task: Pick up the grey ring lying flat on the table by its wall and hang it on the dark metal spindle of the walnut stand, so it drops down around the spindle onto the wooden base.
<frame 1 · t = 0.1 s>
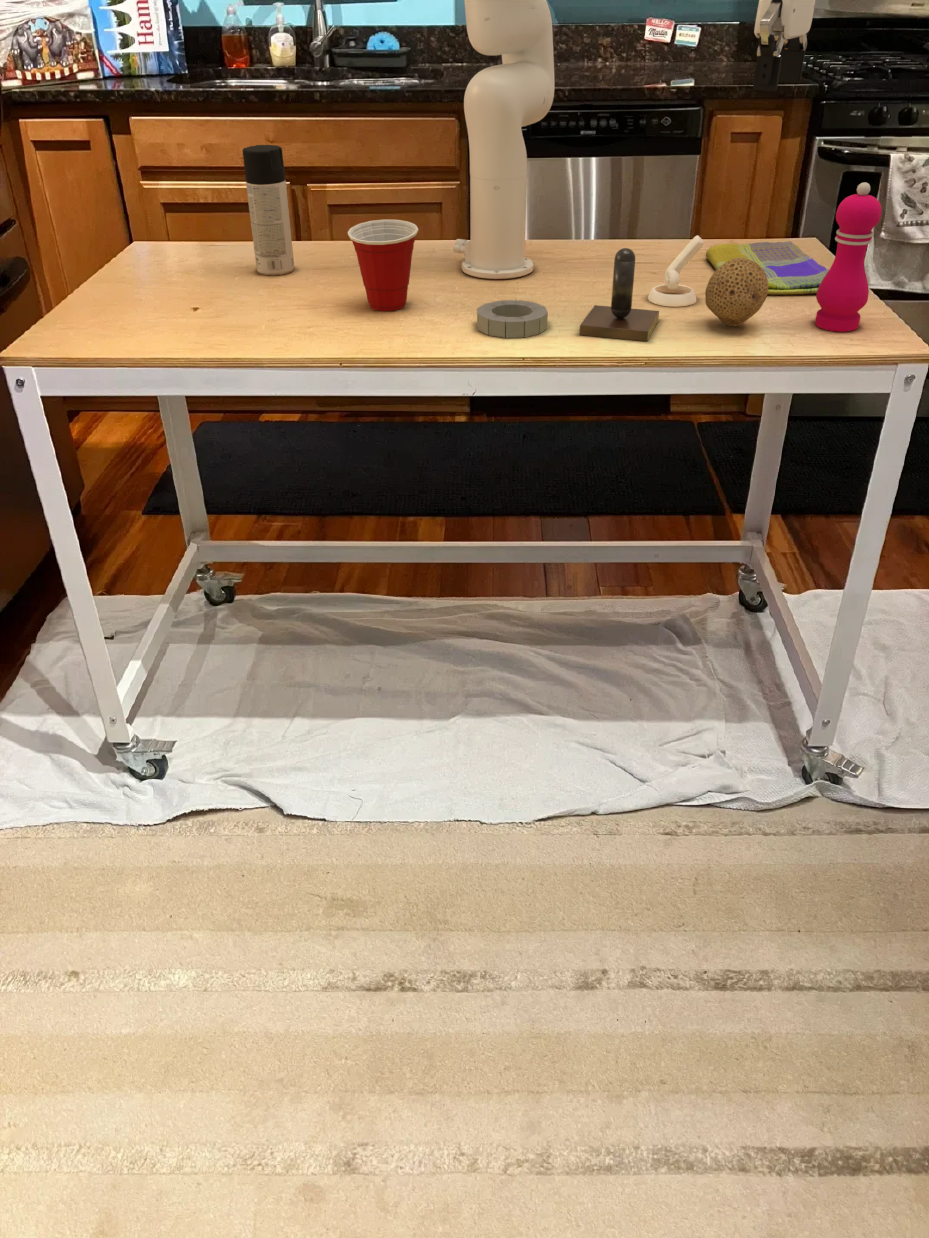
hand: (776, 86, 140), 31 cm above the table, tool pointing down, fingers open, 9 cm apart
spindle: (619, 327, 151), on the table
pepper mill: (836, 326, 151), on the table
spray can: (275, 272, 178), on the table
dish towel: (768, 276, 174), on the table
grey ring: (511, 326, 152), on the table
natural sponge: (731, 328, 151), on the table
white lever handle: (672, 301, 163), on the table
plastic cup: (386, 307, 161), on the table
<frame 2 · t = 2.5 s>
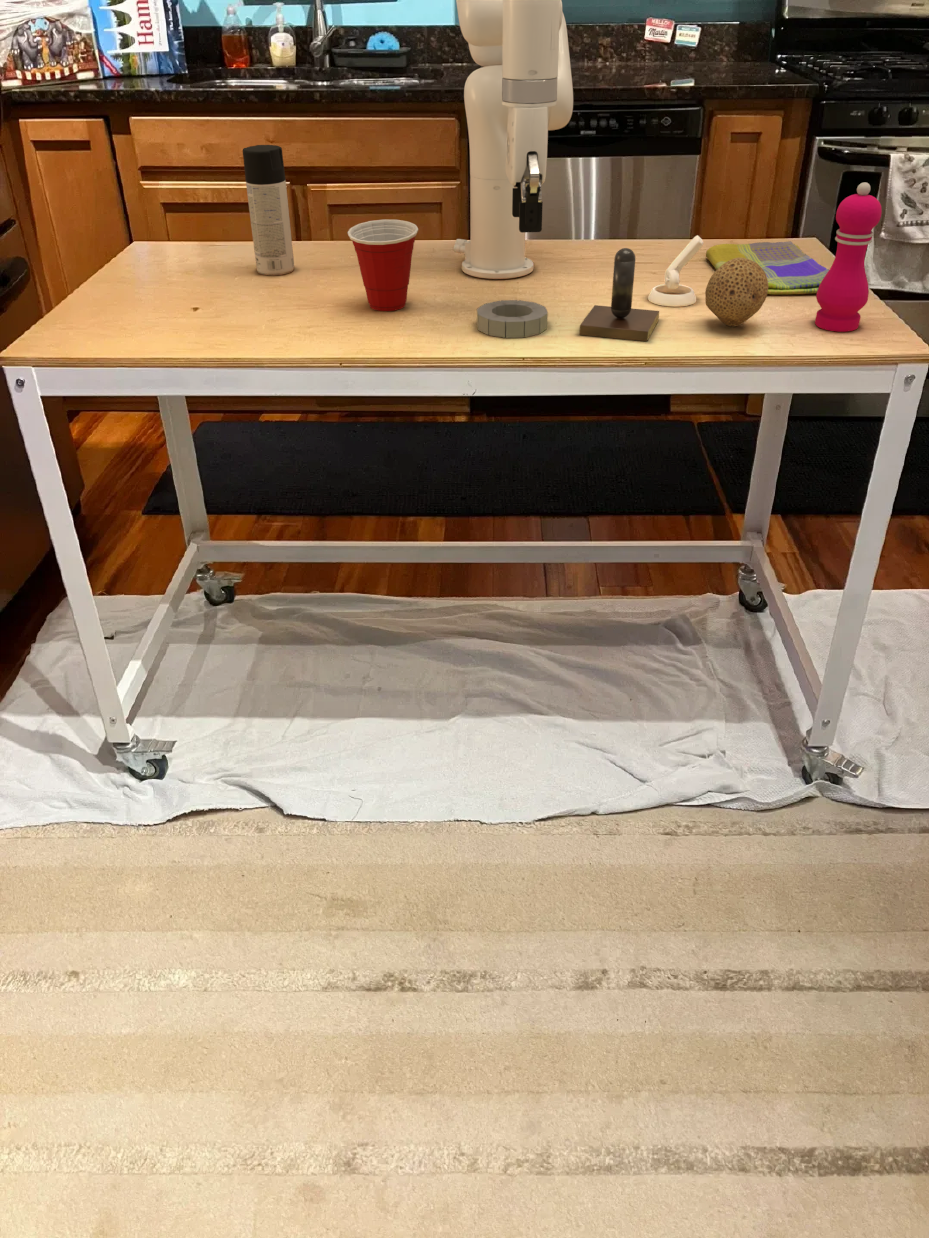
hand: (526, 224, 148), 14 cm above the table, tool pointing down, fingers open, 9 cm apart
nothing on the table moved.
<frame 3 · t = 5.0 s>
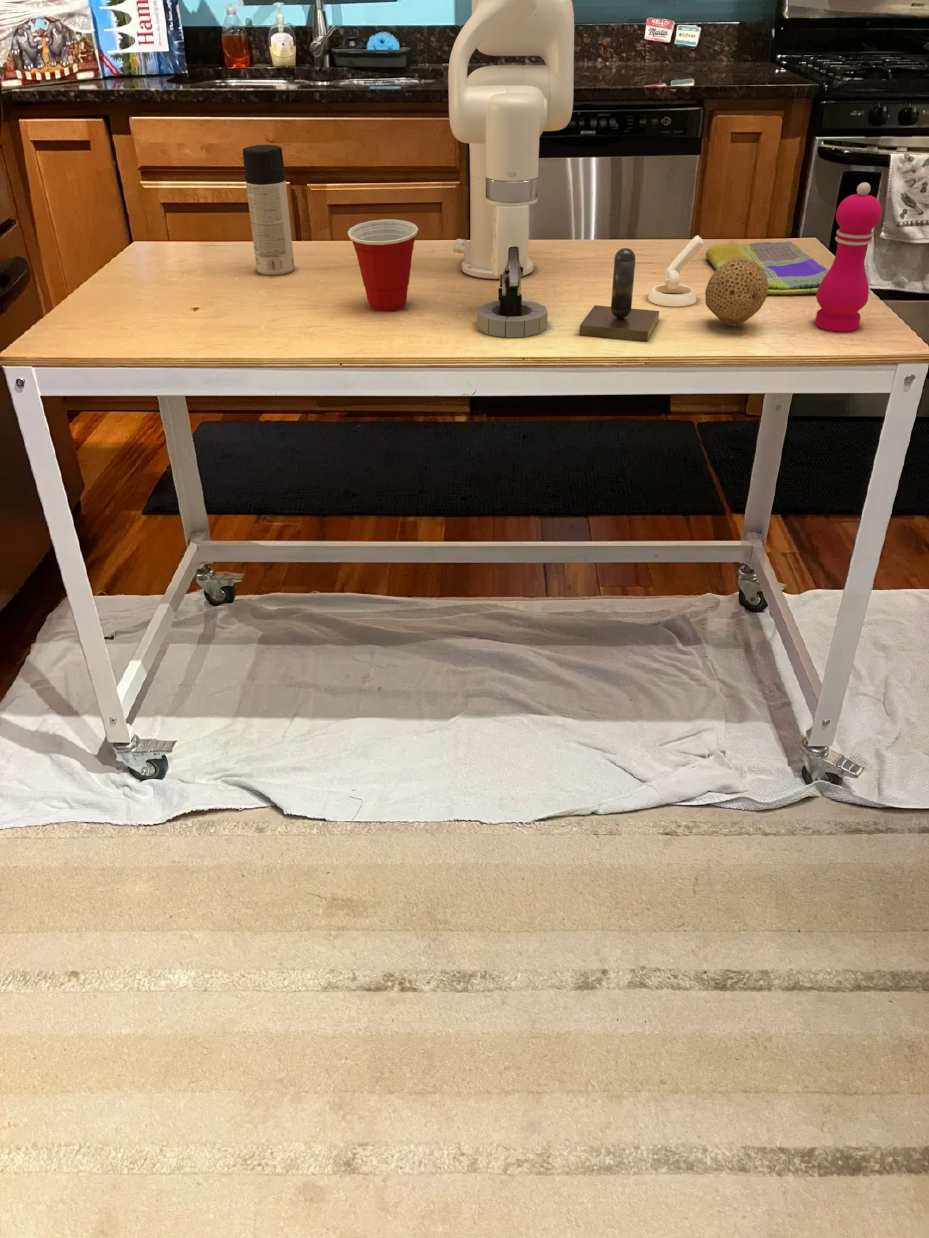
hand: (509, 316, 156), 0 cm above the table, tool pointing down, fingers closed on grey ring, 2 cm apart
grey ring: (511, 326, 152), on the table, touching gripper
everything else where it was.
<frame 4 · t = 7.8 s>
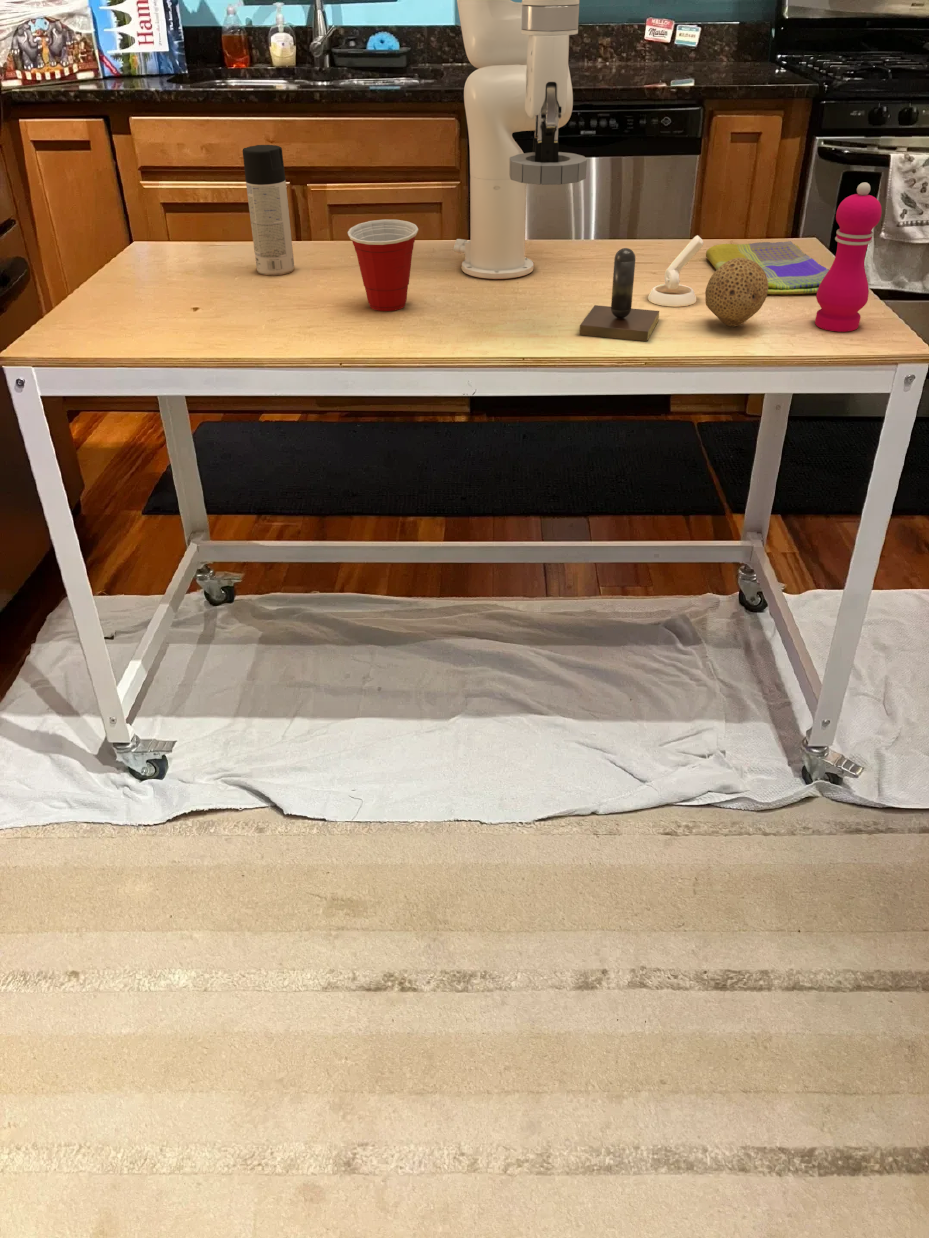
hand: (545, 170, 143), 21 cm above the table, tool pointing down, fingers closed on grey ring, 2 cm apart
grey ring: (547, 177, 140), point 21 cm above the table, touching gripper
everything else where it was.
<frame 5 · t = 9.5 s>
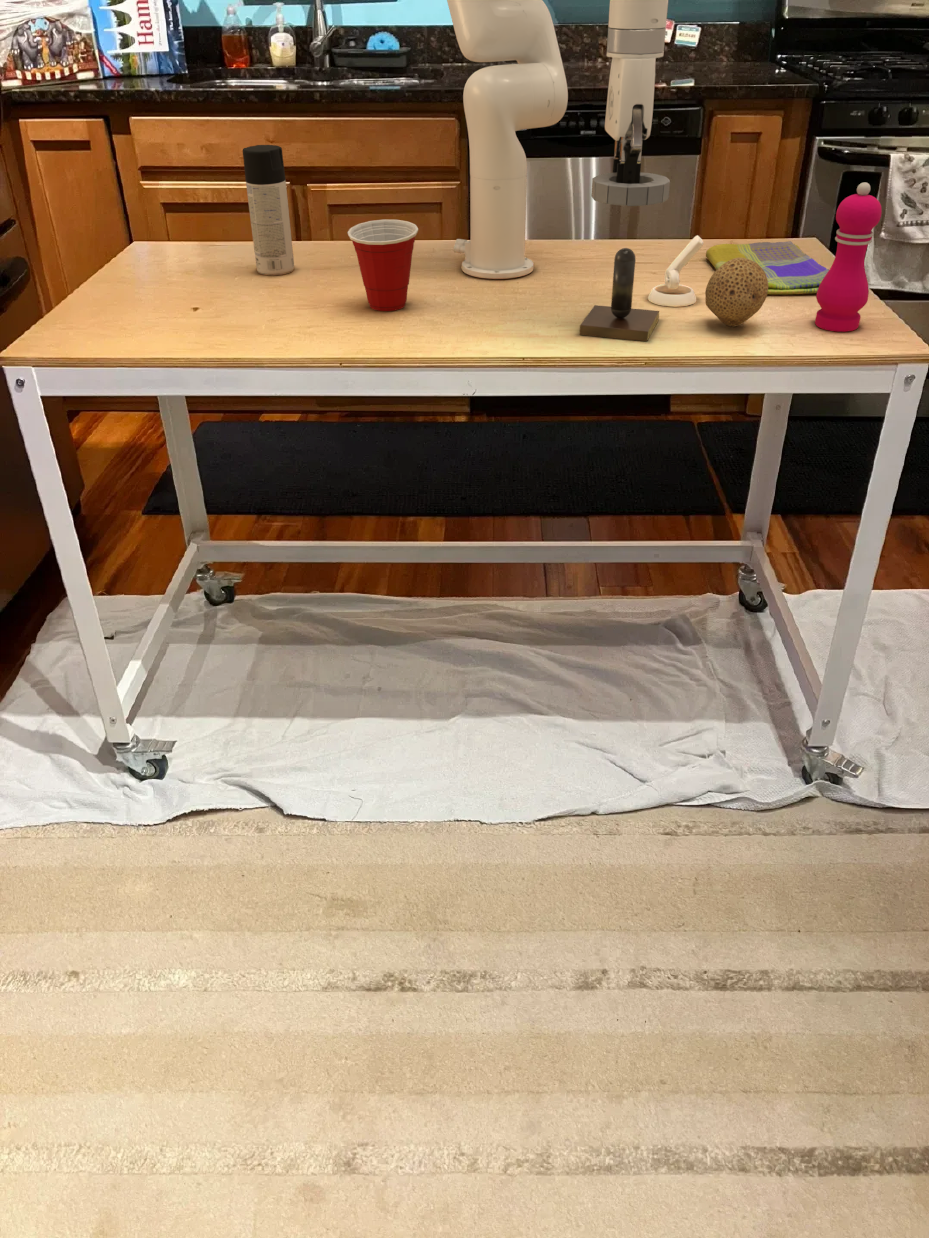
hand: (624, 190, 144), 18 cm above the table, tool pointing down, fingers closed on grey ring, 2 cm apart
grey ring: (629, 197, 141), point 18 cm above the table, touching gripper
everything else where it was.
when the fingers open (15 cm above the table, at t = 10.9 s): grey ring drops 13 cm, resting on spindle.
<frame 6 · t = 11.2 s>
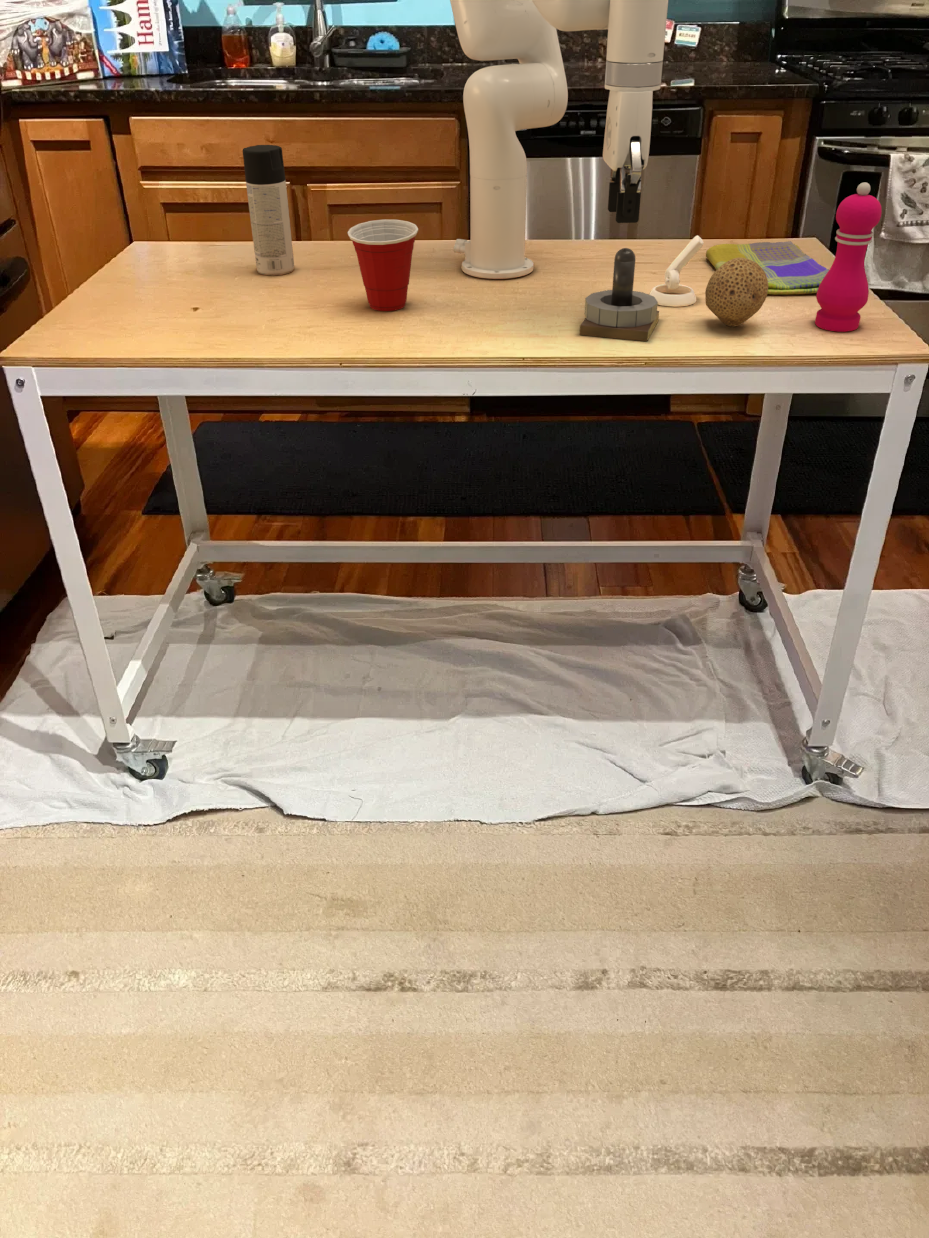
hand: (622, 215, 146), 15 cm above the table, tool pointing down, fingers open, 6 cm apart
grey ring: (620, 316, 151), point 1 cm above the table, touching spindle
everything else where it was.
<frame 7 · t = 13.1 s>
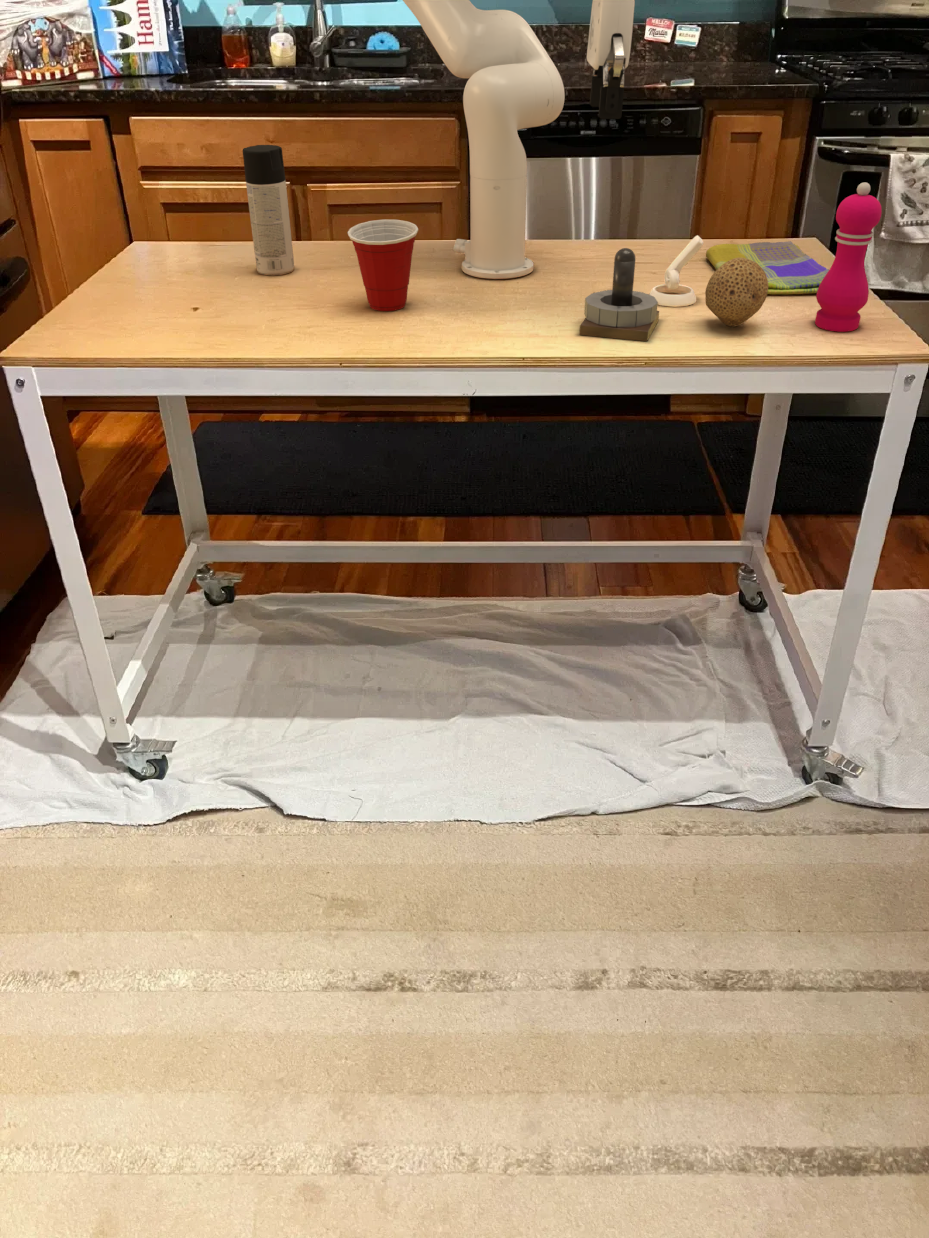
hand: (605, 112, 148), 27 cm above the table, tool pointing down, fingers open, 9 cm apart
nothing on the table moved.
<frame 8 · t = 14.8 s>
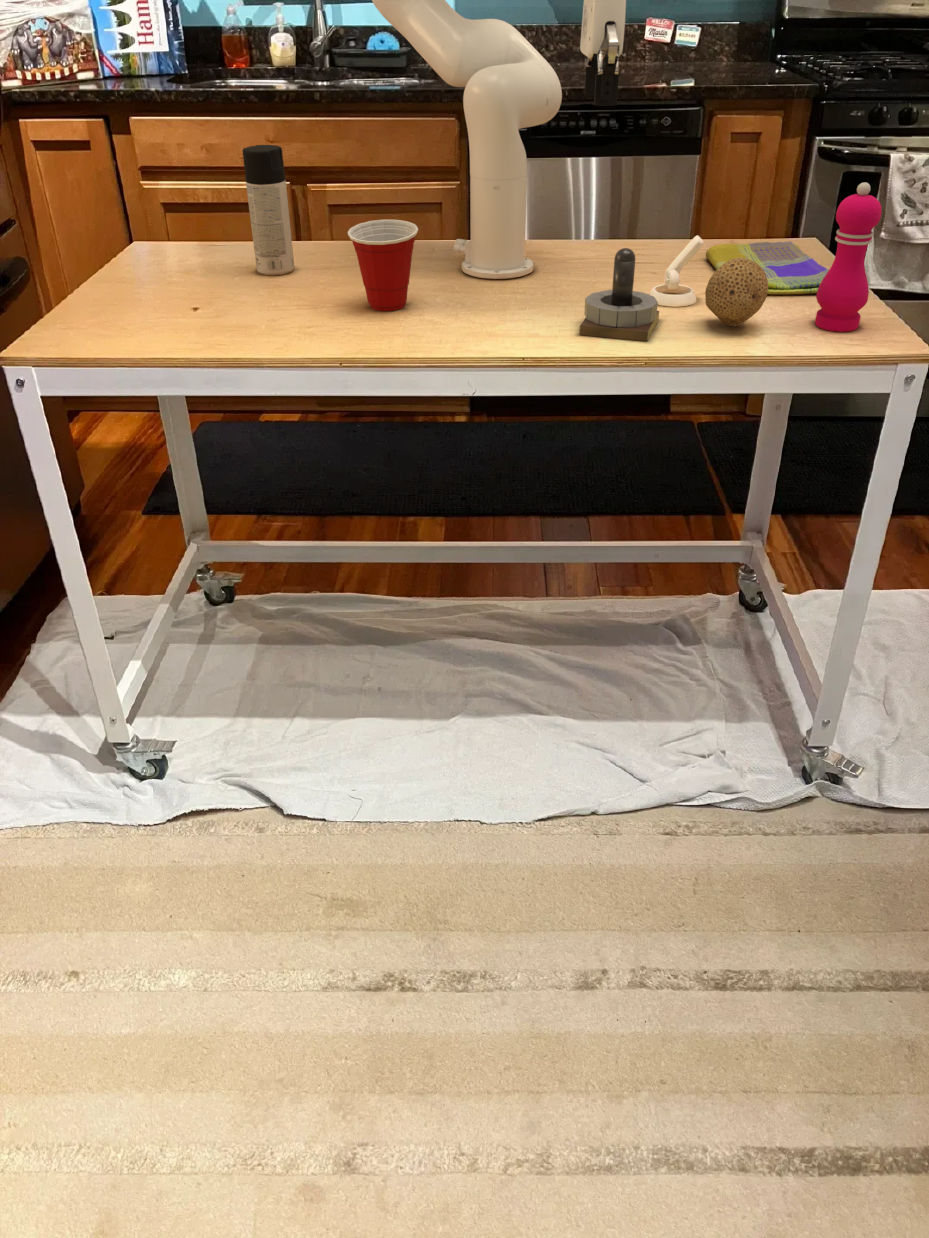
hand: (600, 101, 150), 28 cm above the table, tool pointing down, fingers open, 9 cm apart
nothing on the table moved.
at the end: grey ring 0.8 cm from the spindle (horizontally); grey ring point 1.5 cm above the table; grey ring tilted 0° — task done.
